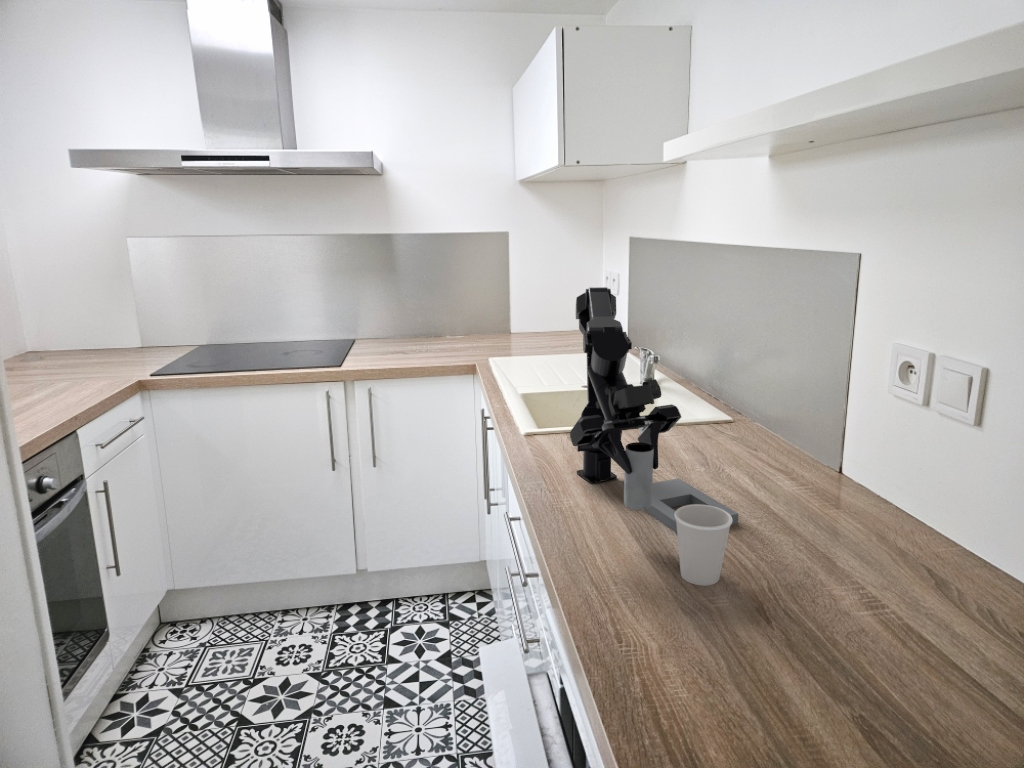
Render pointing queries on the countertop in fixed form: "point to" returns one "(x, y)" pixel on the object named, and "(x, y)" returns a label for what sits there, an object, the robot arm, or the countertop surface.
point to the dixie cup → (702, 542)
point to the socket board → (679, 501)
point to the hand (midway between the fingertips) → (643, 470)
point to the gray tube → (639, 476)
